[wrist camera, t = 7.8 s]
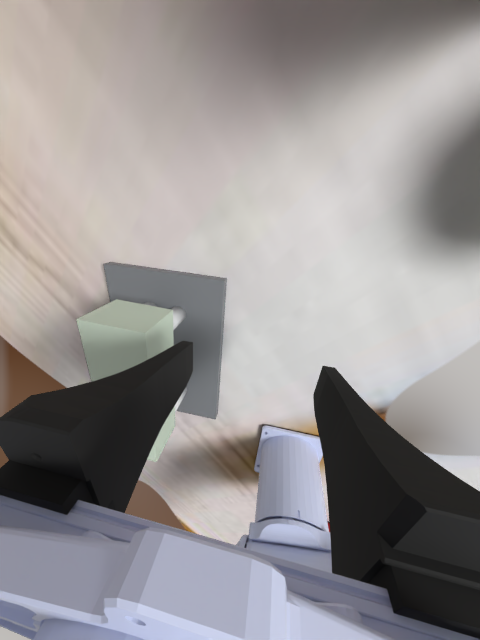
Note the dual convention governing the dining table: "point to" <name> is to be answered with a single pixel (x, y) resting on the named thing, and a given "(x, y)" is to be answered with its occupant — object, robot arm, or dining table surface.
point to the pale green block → (127, 345)
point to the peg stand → (182, 322)
